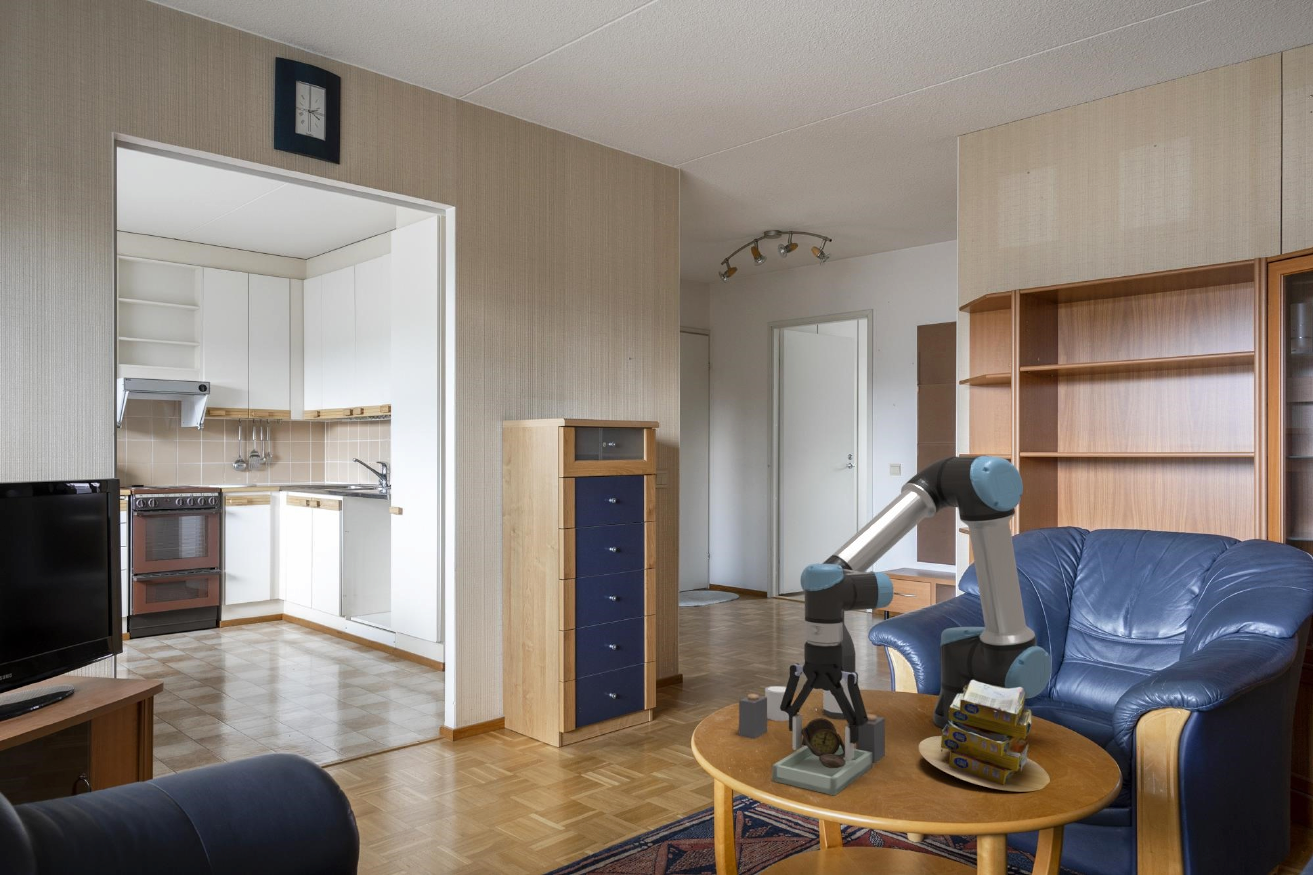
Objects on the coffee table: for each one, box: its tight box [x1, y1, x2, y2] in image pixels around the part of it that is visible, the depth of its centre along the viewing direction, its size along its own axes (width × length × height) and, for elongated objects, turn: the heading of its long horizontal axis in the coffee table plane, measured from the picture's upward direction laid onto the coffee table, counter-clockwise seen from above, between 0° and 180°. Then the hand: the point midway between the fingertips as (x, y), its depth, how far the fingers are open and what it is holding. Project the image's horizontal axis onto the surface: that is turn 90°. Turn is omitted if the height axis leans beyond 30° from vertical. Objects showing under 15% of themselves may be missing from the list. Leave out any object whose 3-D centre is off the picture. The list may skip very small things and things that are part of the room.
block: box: [855, 713, 886, 765], centre depth 185 cm, size 4×6×9 cm, turn 145°
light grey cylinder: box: [764, 685, 793, 722], centre depth 214 cm, size 7×7×7 cm
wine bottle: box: [822, 611, 856, 720], centre depth 217 cm, size 8×8×30 cm
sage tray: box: [771, 745, 873, 796], centre depth 175 cm, size 13×19×3 cm
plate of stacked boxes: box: [918, 680, 1051, 792], centre depth 178 cm, size 25×25×17 cm
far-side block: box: [738, 693, 768, 739], centre depth 201 cm, size 4×6×9 cm, turn 145°
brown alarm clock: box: [802, 717, 846, 768], centre depth 175 cm, size 7×13×10 cm
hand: (822, 753), depth 175 cm, fingers closed on brown alarm clock, 11 cm apart
